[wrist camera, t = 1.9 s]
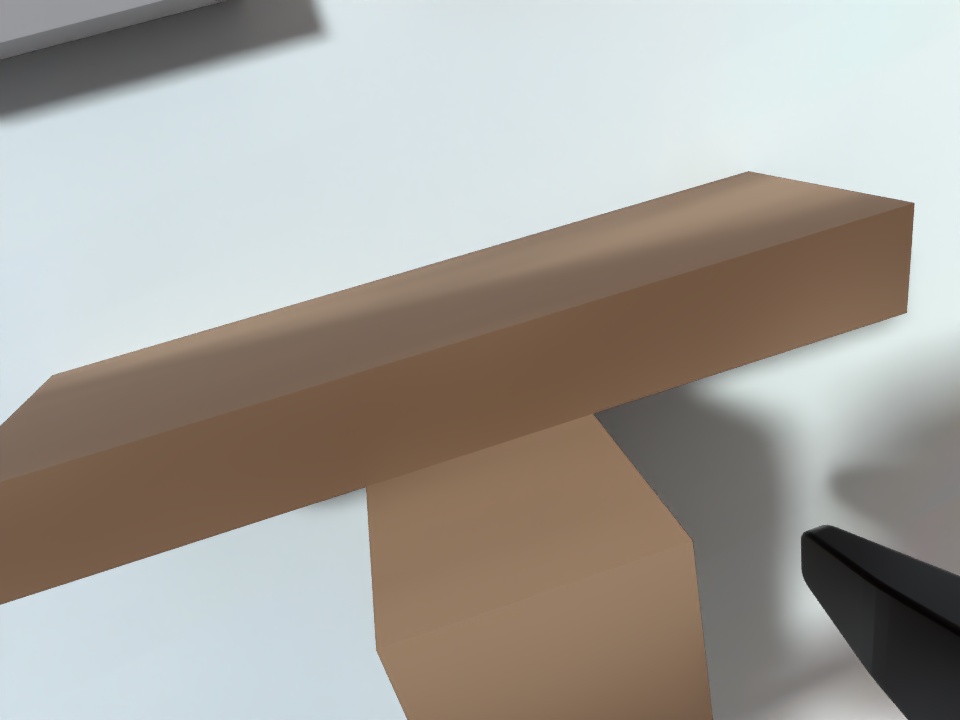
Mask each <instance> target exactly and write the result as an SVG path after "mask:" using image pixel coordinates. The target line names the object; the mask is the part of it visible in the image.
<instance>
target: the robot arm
mask: <svg viewBox="0 0 960 720" xmlns="http://www.w3.org/2000/svg"><path fill="white" fill-rule="evenodd" d="M801 569H802V574H803V577H804V580H805V582H806V584H807V585H808V587H809V589H810V590H811V591H812V593H813V594H814V596H815V597H816V599H817V600H818V601H819V603H820V604H821V606H822V607H823V609H824V610H825V611H826V613H827V614H828V616H829V617H830V619H831V620H832V621H833V623H834V624H835V626H836V627H837V628H838V630H839V631H840V633H841V634H842V636H843V637H844V638H845V640H846V641H847V643H848V644H849V646H850V647H851V648H852V650H853V651H854V653H855V654H856V656H857V657H858V658H859V660H860V661H861V663H862V664H863V665H864V667H865V668H866V669H867V671H868V672H869V674H870V675H871V676H872V677H873V679H874V680H875V681H876V682H877V684H878V685H879V686H880V687H881V688H882V690H883V691H884V692H885V693H886V694H887V696H888V697H889V698H890V699H891V700H892V701H893V703H894V704H895V705H896V706H897V707H898V709H899V710H900V711H901V712H902V713H903V714H904V716H905V717H906V718H907V719H908V720H960V576H958V575H956V574H953V573H951V572H948V571H946V570H943V569H940V568H938V567H935V566H933V565H930V564H928V563H925V562H923V561H920V560H918V559H915V558H913V557H910V556H908V555H905V554H903V553H900V552H898V551H895V550H892V549H890V548H887V547H885V546H882V545H880V544H877V543H875V542H872V541H870V540H867V539H865V538H862V537H860V536H857V535H855V534H852V533H850V532H847V531H844V530H842V529H839V528H837V527H834V526H831V525H822V526H819V527H816V528H814V529H811V530H808V531H806V532H804V533H803V535H802V537H801Z"/></svg>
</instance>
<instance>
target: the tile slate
mask: <svg viewBox="0 0 960 720" xmlns="http://www.w3.org/2000/svg"><path fill="white" fill-rule="evenodd" d="M223 1H227V0H0V60H1V59H5V58H9V57H13V56H17V55H21V54H24V53H28V52H32V51H36V50H40V49H43V48H47V47H51V46H55V45H59V44H63V43H66V42H70V41H74V40H78V39H82V38H85V37H89V36H93V35H97V34H101V33H104V32H108V31H112V30H116V29H120V28H124V27H127V26H131V25H135V24H139V23H143V22H146V21H150V20H154V19H158V18H162V17H166V16H169V15H173V14H177V13H181V12H185V11H188V10H192V9H196V8H200V7H204V6H208V5H211V4H215V3H219V2H223Z"/></svg>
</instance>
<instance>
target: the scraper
mask: <svg viewBox="0 0 960 720" xmlns="http://www.w3.org/2000/svg"><path fill="white" fill-rule="evenodd" d="M913 217H914V203H912V202H907V201H902V200H896V199H891V198H886V197H881V196H875V195H870V194H865V193H860V192H854V191H849V190H844V189H839V188H833V187H828V186H823V185H817V184H812V183H807V182H802V181H796V180H791V179H786V178H781V177H775V176H770V175H765V174H760V173H754V172H749V171H748V172H745V173H741V174H738V175H735V176H731V177H728V178H724V179H721V180H718V181H714V182H711V183H707V184H704V185H700V186H697V187H694V188H690V189H687V190H683V191H680V192H677V193H673V194H670V195H666V196H663V197H659V198H656V199H653V200H649V201H646V202H642V203H639V204H636V205H632V206H629V207H625V208H622V209H619V210H615V211H612V212H608V213H605V214H601V215H598V216H595V217H591V218H588V219H584V220H581V221H578V222H574V223H571V224H567V225H564V226H561V227H557V228H554V229H550V230H547V231H543V232H540V233H537V234H533V235H530V236H526V237H523V238H520V239H516V240H513V241H509V242H506V243H502V244H499V245H496V246H492V247H489V248H485V249H482V250H479V251H475V252H472V253H468V254H465V255H462V256H458V257H455V258H451V259H448V260H444V261H441V262H438V263H434V264H431V265H427V266H424V267H421V268H417V269H414V270H410V271H407V272H404V273H400V274H397V275H393V276H390V277H386V278H383V279H380V280H376V281H373V282H369V283H366V284H363V285H359V286H356V287H352V288H349V289H345V290H342V291H339V292H335V293H332V294H328V295H325V296H322V297H318V298H315V299H311V300H308V301H305V302H301V303H298V304H294V305H291V306H287V307H284V308H281V309H277V310H274V311H270V312H267V313H264V314H260V315H257V316H253V317H250V318H247V319H243V320H240V321H236V322H233V323H229V324H226V325H223V326H219V327H216V328H212V329H209V330H206V331H202V332H199V333H195V334H192V335H188V336H185V337H182V338H178V339H175V340H171V341H168V342H165V343H161V344H158V345H154V346H151V347H148V348H144V349H141V350H137V351H134V352H130V353H127V354H124V355H120V356H117V357H113V358H110V359H107V360H103V361H100V362H96V363H93V364H89V365H86V366H83V367H79V368H76V369H72V370H69V371H66V372H62V373H59V374H55V375H52V376H51V377H50V378H49V379H48V380H47V381H46V382H45V383H44V384H43V385H42V386H41V387H40V388H39V389H38V390H37V391H36V392H35V393H34V394H33V395H32V396H31V397H30V398H29V399H28V400H27V401H26V402H25V403H24V404H23V405H21V406H20V407H19V408H18V409H17V410H16V411H15V412H14V413H13V414H12V415H11V416H10V417H9V418H8V419H7V420H6V421H5V422H4V423H3V424H2V425H1V426H0V605H1V604H4V603H7V602H10V601H13V600H16V599H19V598H23V597H26V596H29V595H32V594H35V593H38V592H41V591H44V590H47V589H50V588H54V587H57V586H60V585H63V584H66V583H69V582H72V581H75V580H78V579H82V578H85V577H88V576H91V575H94V574H97V573H100V572H103V571H106V570H109V569H113V568H116V567H119V566H122V565H125V564H128V563H131V562H134V561H137V560H141V559H144V558H147V557H150V556H153V555H156V554H159V553H162V552H165V551H168V550H172V549H175V548H178V547H181V546H184V545H187V544H190V543H193V542H196V541H200V540H203V539H206V538H209V537H212V536H215V535H218V534H221V533H224V532H227V531H231V530H234V529H237V528H240V527H243V526H246V525H249V524H252V523H255V522H259V521H262V520H265V519H268V518H271V517H274V516H277V515H280V514H283V513H286V512H290V511H293V510H296V509H299V508H302V507H305V506H308V505H311V504H314V503H318V502H321V501H324V500H327V499H330V498H333V497H336V496H339V495H342V494H345V493H349V492H352V491H355V490H358V489H361V488H364V487H366V493H367V509H368V525H369V541H370V558H371V574H372V590H373V606H374V622H375V638H376V651H377V653H378V655H379V657H380V660H381V662H382V664H383V666H384V669H385V671H386V673H387V675H388V677H389V680H390V682H391V684H392V686H393V689H394V691H395V693H396V695H397V698H398V700H399V702H400V704H401V706H402V709H403V711H404V713H405V715H406V718H407V720H713V717H712V708H711V699H710V690H709V681H708V672H707V664H706V655H705V646H704V637H703V628H702V619H701V610H700V601H699V593H698V584H697V575H696V566H695V557H694V548H693V541H692V539H691V538H690V537H689V535H688V534H687V533H686V532H685V530H684V529H683V528H682V527H681V525H680V524H679V523H678V521H677V520H676V519H675V518H674V516H673V515H672V514H671V512H670V511H669V510H668V509H667V507H666V506H665V505H664V504H663V502H662V501H661V500H660V498H659V497H658V496H657V495H656V493H655V492H654V491H653V490H652V488H651V487H650V486H649V484H648V483H647V482H646V481H645V479H644V478H643V477H642V476H641V474H640V473H639V472H638V470H637V469H636V468H635V467H634V465H633V464H632V463H631V462H630V460H629V459H628V458H627V456H626V455H625V454H624V453H623V451H622V450H621V449H620V448H619V446H618V445H617V444H616V442H615V441H614V440H613V439H612V437H611V436H610V435H609V434H608V432H607V431H606V430H605V428H604V427H603V426H602V425H601V423H600V422H599V421H598V420H597V418H596V417H595V416H594V413H597V412H600V411H603V410H606V409H609V408H613V407H616V406H619V405H622V404H625V403H628V402H631V401H634V400H637V399H640V398H644V397H647V396H650V395H653V394H656V393H659V392H662V391H665V390H668V389H672V388H675V387H678V386H681V385H684V384H687V383H690V382H693V381H696V380H699V379H703V378H706V377H709V376H712V375H715V374H718V373H721V372H724V371H727V370H731V369H734V368H737V367H740V366H743V365H746V364H749V363H752V362H755V361H759V360H762V359H765V358H768V357H771V356H774V355H777V354H780V353H783V352H786V351H790V350H793V349H796V348H799V347H802V346H805V345H808V344H811V343H814V342H818V341H821V340H824V339H827V338H830V337H833V336H836V335H839V334H842V333H845V332H849V331H852V330H855V329H858V328H861V327H864V326H867V325H870V324H873V323H877V322H880V321H883V320H886V319H889V318H892V317H895V316H898V315H901V314H904V313H907V303H908V289H909V274H910V260H911V246H912V232H913Z"/></svg>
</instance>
